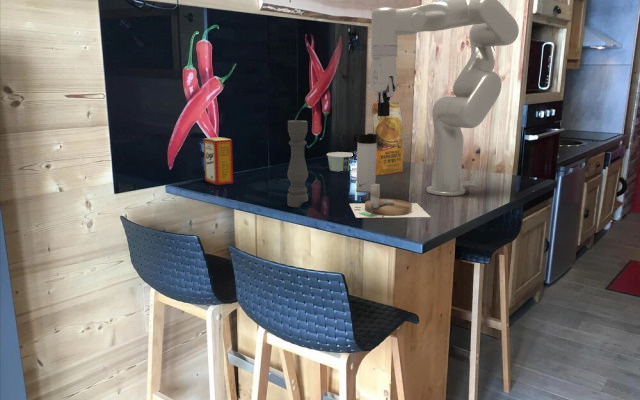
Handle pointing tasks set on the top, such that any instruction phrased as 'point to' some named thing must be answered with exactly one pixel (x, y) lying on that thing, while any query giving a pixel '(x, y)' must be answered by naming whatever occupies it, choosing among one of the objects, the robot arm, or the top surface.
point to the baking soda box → (218, 160)
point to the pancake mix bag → (388, 140)
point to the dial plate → (362, 213)
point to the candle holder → (297, 164)
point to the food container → (339, 161)
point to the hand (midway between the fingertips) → (383, 115)
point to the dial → (386, 204)
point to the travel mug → (366, 162)
